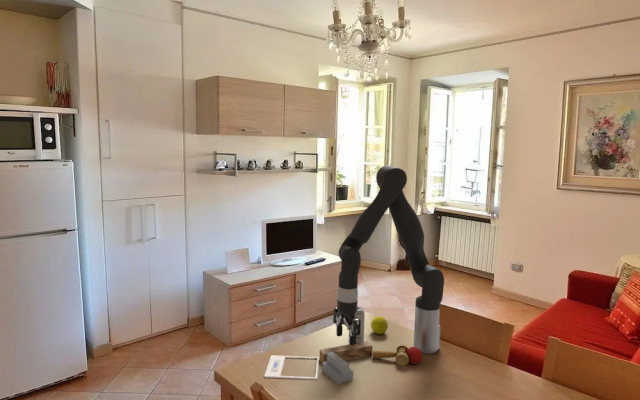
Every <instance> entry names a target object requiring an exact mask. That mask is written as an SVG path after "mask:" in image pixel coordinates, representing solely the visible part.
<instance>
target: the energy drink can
mask: <svg viewBox="0 0 640 400" xmlns="http://www.w3.org/2000/svg"><path fill="white" fill-rule="evenodd" d="M365 314H366V313H365V311H364V308H363V307H362V306H357V312H356V313H355V318H356V319H360V320H361V330H360V335H358V336H356V343H360V342H365V320H366V319H365V317H366V316H365ZM352 326H353V324H352V325H351V326H350V327H352ZM352 332H353V329H352ZM348 344H350V333H349V332H348Z"/></svg>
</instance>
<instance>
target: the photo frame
mask: <svg viewBox="0 0 640 400" xmlns="http://www.w3.org/2000/svg"><path fill="white" fill-rule="evenodd" d="M298 358H305V359H304V360H315V359H316V365H315V366H316V367H315V374H314V375H315V376H297V375H296V376H293V375H292V376H291V375H282V372H283V368H284V364H285V361H286V360H285V359H298ZM307 358H308V359H307ZM284 360H285V361H284ZM319 363H320V356H297V355H273V354H272V355H270V359H269V360H268V364H267V367H266V370H265V373H264V375H263V377H264V378H266V379H289V380H316V381H317V380H318V373H319Z"/></svg>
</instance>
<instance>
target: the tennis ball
mask: <svg viewBox="0 0 640 400" xmlns="http://www.w3.org/2000/svg"><path fill="white" fill-rule="evenodd" d="M388 326H389V323H388V321H387V319H386V318H385V317H383V316H376V317H373V319H372V321H371V322H370V327H371V330H372V332H373V333H375V334H378V335H383V334H385V333H386V332H387V330H388V328H389V327H388Z"/></svg>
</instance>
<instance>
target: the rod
mask: <svg viewBox="0 0 640 400" xmlns="http://www.w3.org/2000/svg"><path fill="white" fill-rule="evenodd" d="M329 352H334V353H335V354H337V355H338V356H339V357H340V358H342V359H343V360H344V361H347V360H348V361H349V360H352V359H358V358H362V357H367V356H368V357H369V356H373V345H372V344H371V343H370V342H369V341H368V340H367V341H365V340H364V342H360V343H356V344H355V345H352V346H351V345H350V344H349V343H348V344H345V345H344V344H343V345H338V346H332V347H327V348H322V349H321V348H320V349H319V361H320V362H321V363H323V362H326V361H327V353H329Z"/></svg>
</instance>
